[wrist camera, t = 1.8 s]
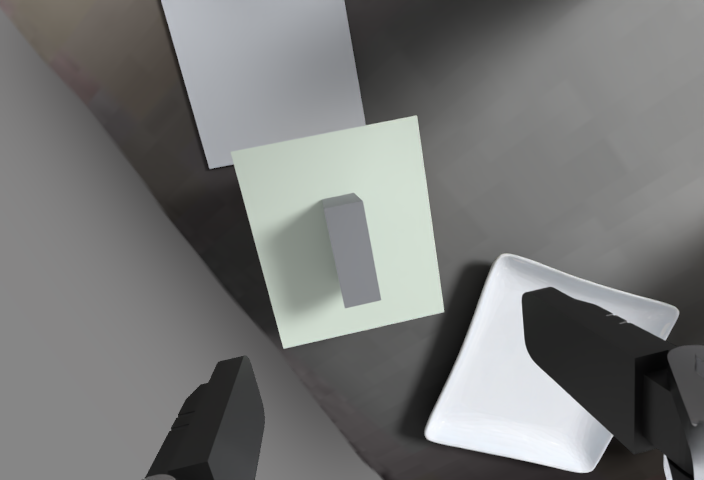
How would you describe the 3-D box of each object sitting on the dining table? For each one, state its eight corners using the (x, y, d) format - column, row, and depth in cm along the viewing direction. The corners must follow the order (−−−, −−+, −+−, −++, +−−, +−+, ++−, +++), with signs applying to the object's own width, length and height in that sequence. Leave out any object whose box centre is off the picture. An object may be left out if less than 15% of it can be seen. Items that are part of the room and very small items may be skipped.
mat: (333, -57, 28) (333, -60, 28) (367, 137, 32) (368, 137, 31) (154, -27, 27) (152, -30, 27) (210, 168, 31) (209, 168, 30)
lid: (407, 119, 25) (440, 105, 19) (433, 299, 29) (470, 342, 22) (238, 152, 25) (210, 150, 18) (285, 332, 28) (277, 387, 22)
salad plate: (412, 420, 39) (421, 444, 36) (483, 242, 36) (501, 251, 32) (572, 453, 43) (594, 478, 40) (653, 295, 39) (685, 308, 36)
